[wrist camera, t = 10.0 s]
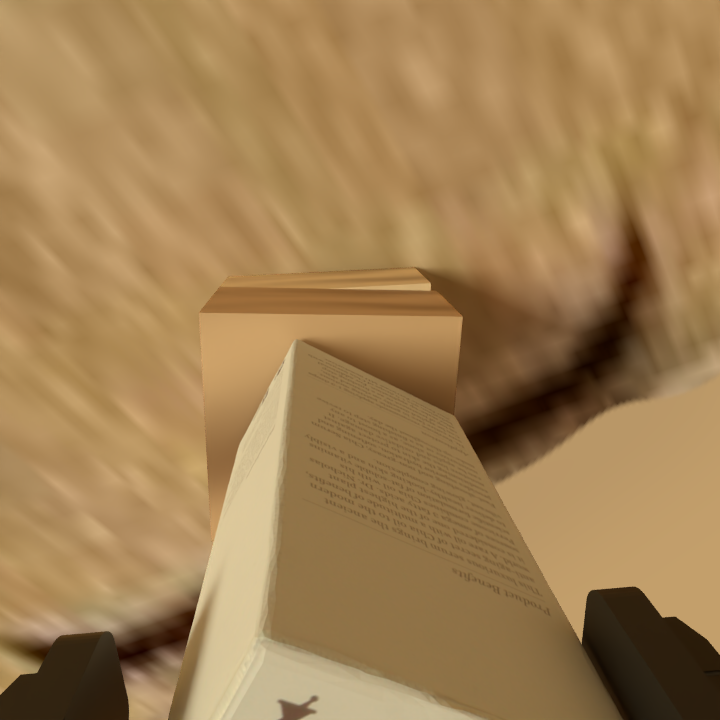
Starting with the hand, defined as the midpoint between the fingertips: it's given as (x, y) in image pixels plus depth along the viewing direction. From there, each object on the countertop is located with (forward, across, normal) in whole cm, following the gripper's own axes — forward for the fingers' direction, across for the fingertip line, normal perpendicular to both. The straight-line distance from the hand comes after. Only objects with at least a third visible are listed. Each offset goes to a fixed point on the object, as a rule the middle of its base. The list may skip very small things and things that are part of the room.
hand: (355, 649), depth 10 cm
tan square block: (+13, 0, +1) cm, 13 cm away
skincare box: (+10, 0, 0) cm, 10 cm away
